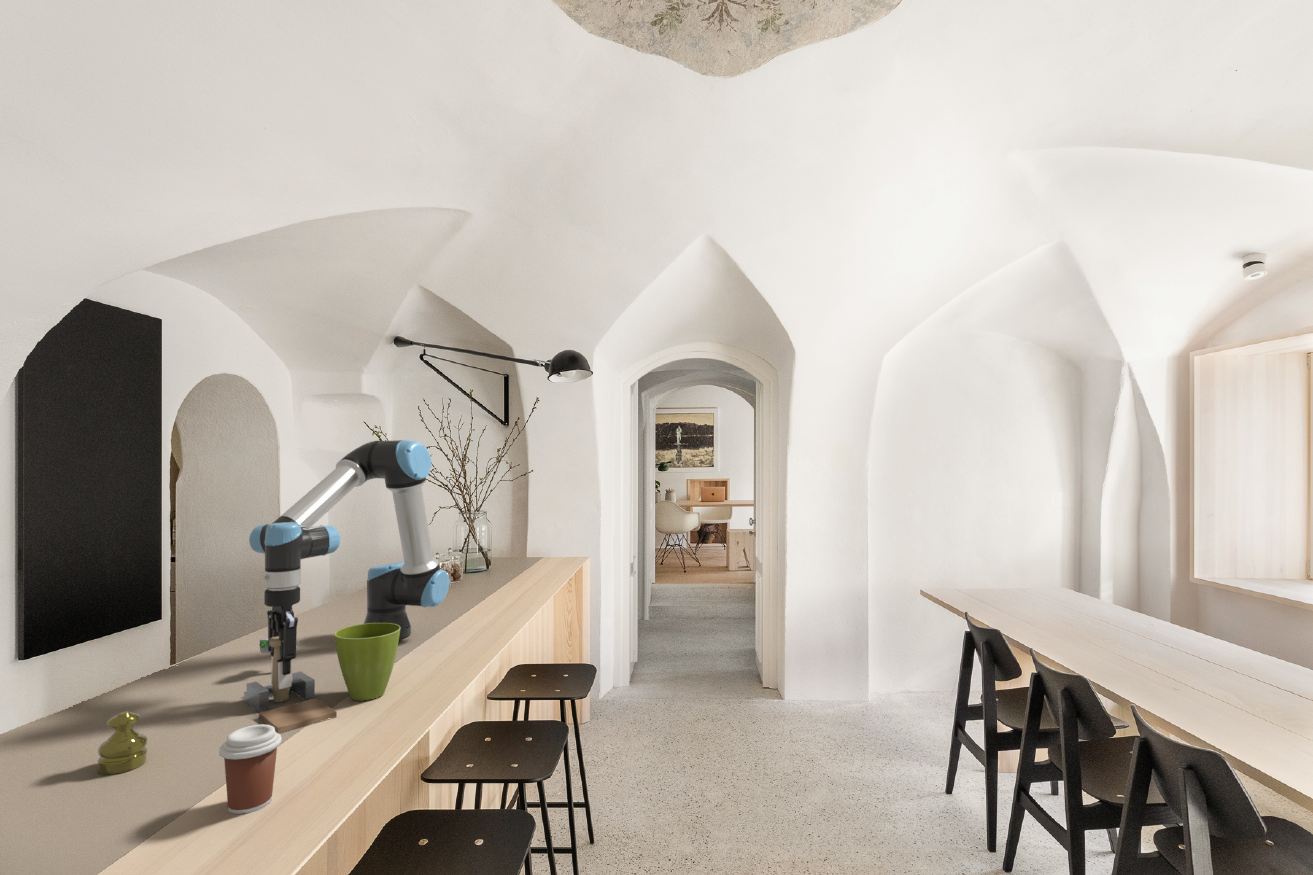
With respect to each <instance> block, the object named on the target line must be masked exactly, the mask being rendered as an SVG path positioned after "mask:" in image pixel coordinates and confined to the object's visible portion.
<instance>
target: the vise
mask: <svg viewBox="0 0 1313 875" xmlns="http://www.w3.org/2000/svg"><path fill="white" fill-rule="evenodd" d="M315 680H316V679H314V678H312V677H311V676H310V675H308V674H306V673H304V672H303V671H297V672H292V686H291V687H290V690H289V692H288V693H294V694H295V695H297V696H298V697H300V698H301V699H302V700H304V701H307V700H311V699H315V698H316V697H315V695H316V694H315V684H316V682H315ZM273 695H274V694H273V690H272V684H271V683H270V684H267V685H262V684H260V683H259V682H257V681H253V682H248V683H246V691H244V692H243V701H244V702H245V703H246V704H248V706H249V707H250V708H252V709H254V710H255V711H256V712H258V713H261V712H265V711H269V710H270V708H269V707H270V704H269V703H270V698H271V697H272V698H273Z"/></svg>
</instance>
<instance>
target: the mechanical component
mask: <svg viewBox="0 0 1313 875" xmlns="http://www.w3.org/2000/svg"><path fill="white" fill-rule="evenodd" d="M259 651H260V653H262V654H269V657H270V658H272V657H273V656H271V651H270V652H269V651H268V636H266V637H264V638H262V639H259Z"/></svg>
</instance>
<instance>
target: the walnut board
mask: <svg viewBox="0 0 1313 875" xmlns="http://www.w3.org/2000/svg"><path fill="white" fill-rule="evenodd" d="M337 712H338V711H336V710H335V709H334V708H332V707H330V706H328V705H327V704H325V703H324V702H323V701H321V700H319V699H318V698H316V697H314V699H311V700H307V701H305V700H304V701H300V702H296V703H292V704H288V705H285V706H281V707H277V708H273V709H269V710H268V711H264V712H260V713H259V712H258V713H259V714H258V719H259V720H261V721H262V722H263V723H264V724H265V725H270V726H273V727H274V728H275V732H277V733H278V734H283V733H285V732H289V731H292V730H296V729H300V728H304V727H307V726H311V725H313V724H312V723H314V724H317V723H316V722H318V723H320V722H319V721H321V720H325V721H327V720H326V719H328V718H332V719H335V718H337ZM328 720H329V719H328ZM321 722H322V721H321ZM310 724H311V725H310Z"/></svg>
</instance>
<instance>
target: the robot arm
mask: <svg viewBox="0 0 1313 875" xmlns="http://www.w3.org/2000/svg"><path fill="white" fill-rule="evenodd" d="M431 467H432V458H431V455H430V451H429V450H428V448H427V447H426V446H425V445H424V444H422V443H421V442H419V441H416V440H407V439H401V440H398V439H397V440H396V439H395V440H374V441H369V442H366V443H364V444H362V445H360V446H358V447H357V448H355V449H353V450H352V451H350V452H349V453H348V454H346V455H345V456H343V457H342V458H341V459H340V460H339V461H337V463H336V464H335V468H334V469H333V470H332V471H331V472H330V473H329V474H328V475H326V476H325V477H324V478H323V479H322V480H321V481H319V482H318V483H317V484H316V485H315V486H313V488H312V489H310V490H309V491H308V492H307V493H306V494H305V495H303V496H302V497H301V498H299V499H298V500H297V502H295V503H294V504H293V505H291V506H290V507H289V508H288V509H287V510H286V511H285V512H284V513H282V514H281V515H280V516H279V517H277V519H275V520H274V521H273V522H272V523H271V524H269V523H265V524H260V525H258V526H255V527H254V528H253V530H252V531H251V532H250V535H249V538H248V539H249V542H248V543H249V545H250V548H251V550H253V551H254V552H256V553H258V554H264V575H263V576H262V580H263V581H264V587H265V588H266V589H265V590H264V594H263V595H264V605H265V606H266V607H271V610H267V611H266V614H267V637H268V651H269V652H270V651H271V656H273V657H271V670H270V671H271V674H270V675H271V676H270V677H271V678H270V679H271V681H270V682H271V683H270V685H271V684H272V672H273V659H274V648H273V647H271V646H270V644H269V640H270V638H272V637H277V636H279V640H280V641H281V646H280V659H279V660H277V662H278V689H283V688H287V687H291V686H292V673H293V671H292V669H293V668H292V667H293V660H294V659H296V657H297V633H298V632H297V631H298V630H297V627H298V622H299V619H298V618H299V617H295V612H294V610H293V606H294V605H295V604H298V603H299V602H300V601H301V587H300V585H301V583H302V582H301V580H302V579H301V576H302V575H301V573H302V571H301V570H302V568H301V566H302V564H301V563H302V560H305V559H309V558H316V557H321V556H326V555H329V554H332V553H335V552H336V551H337V550H338V548H339V547H340V544H341V536H340V533H339V531H338V529H337V528H336V527H335V526H333V525H323V524H321V525H319V526H314V525H315V524H316V523H317V522H318V521H319V520H320V519H322V518H323V517H324V516H325V514H327V513H328V512H329V511H330V510H331V509H332V508H334V507H335V505H337V504H338V503H339V502H340V501H341V500H342V499H343V498H345V496H346V495H348V494H349V493H350V492H351V491H352V490H353V489H354V488H355V487H356V488H357V487H361V486H363V485H364V484H365V483H366V482H367V481H370V480H374V479H383V480H384V483H385V489H387V490H388V491H389V490H390V491H391V493H392V497H393V503H394V508H395V510H394V511H395V515H396V521H397V529H398V532H399V533H398V534H399V539H400V544H401V550H402V555H403V557H402V558H403V562H402V561H400V562H392V563H384V564H381V565H376V566H373V567H370V568H369V570H368V571H367V580H366V590H367V591H366V603H367V604H366V605H367V606H366V608H367V609H366V616H365V619H364V621H363V624H367V623H392V624H397V625H399V626H400V635H399V640H401V639H405V638H408V637H410V635H411V634H412V625H411V622H410V620H409V616H408V613H407V610H406V609H407V607H406V606H410V607H411V606H412V607H421V608H428V607H429V608H434V607H437V606H439V605H441V603H442V602H444V600H445V599H446V597H447V595H448V592H449V590H450V584H451V583H450V582H451V580H450V575H449V572H447V571H446V570H445V569H441V567H440V562H439V559H438V558H435V557H434V555H433V549H432V543H431V538H430V531H429V525H428V520H427V512H426V506H425V500H424V493H423V488H422V487H423V486H424V484H425V483H426V480H427V479H426V478H427V476H429V475H430V472H431ZM282 641H283V642H282Z"/></svg>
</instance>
